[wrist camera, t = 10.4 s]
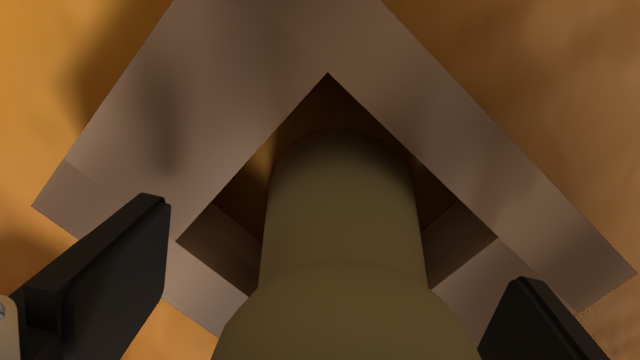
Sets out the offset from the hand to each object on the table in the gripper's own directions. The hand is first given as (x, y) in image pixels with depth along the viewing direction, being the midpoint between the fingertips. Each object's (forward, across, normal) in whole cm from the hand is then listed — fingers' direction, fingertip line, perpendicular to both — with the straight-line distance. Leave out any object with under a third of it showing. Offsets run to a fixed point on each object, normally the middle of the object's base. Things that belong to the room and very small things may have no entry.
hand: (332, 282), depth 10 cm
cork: (+6, 0, 0) cm, 6 cm away
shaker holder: (+6, 0, 0) cm, 6 cm away
